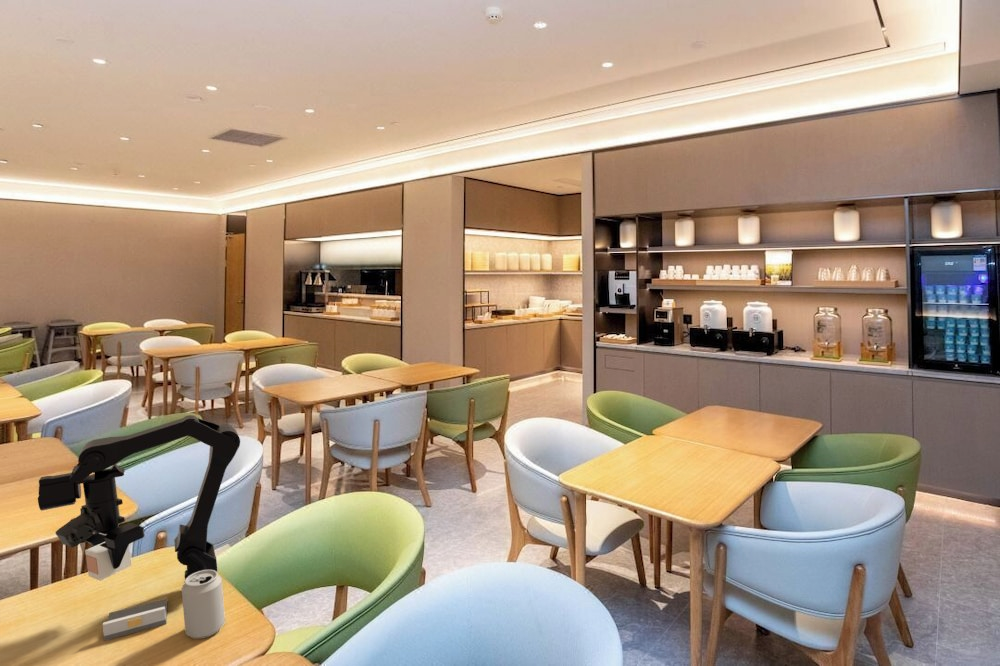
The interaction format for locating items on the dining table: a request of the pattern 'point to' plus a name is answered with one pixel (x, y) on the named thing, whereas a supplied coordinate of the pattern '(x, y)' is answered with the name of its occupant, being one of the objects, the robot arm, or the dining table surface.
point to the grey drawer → (135, 619)
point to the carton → (104, 562)
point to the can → (203, 604)
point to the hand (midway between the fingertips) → (109, 565)
